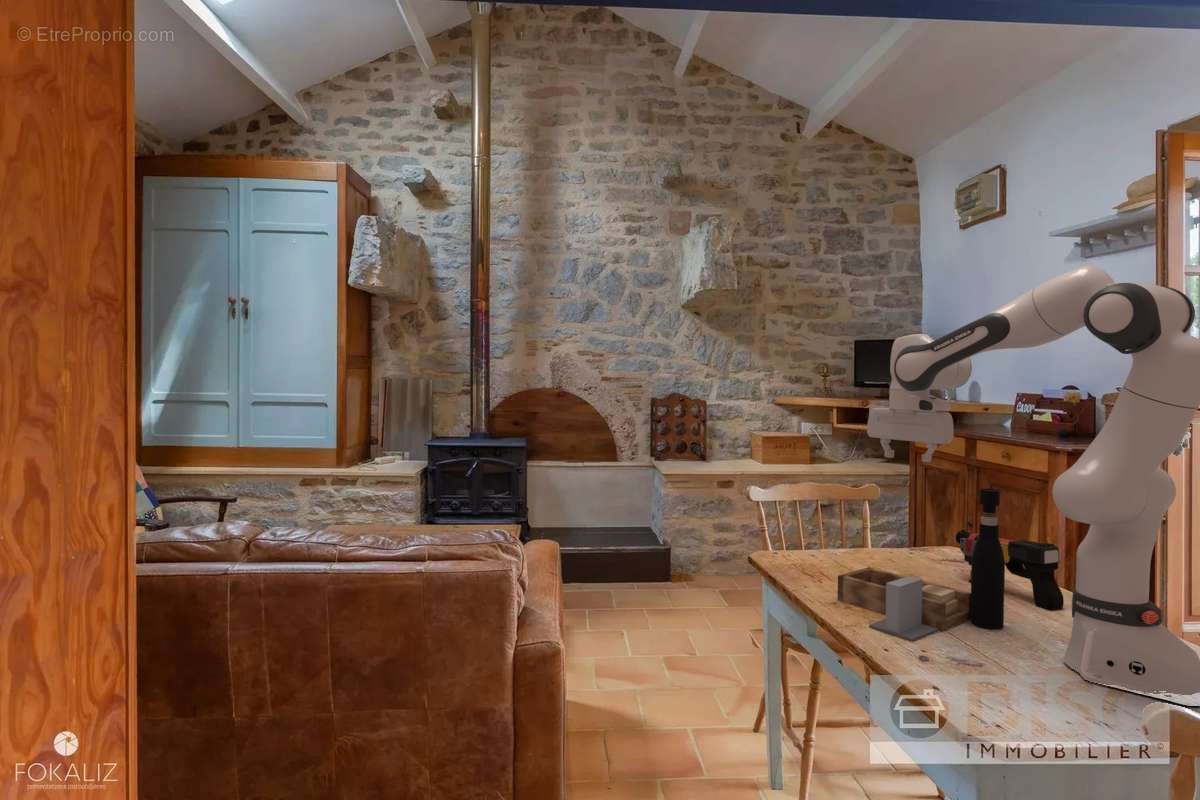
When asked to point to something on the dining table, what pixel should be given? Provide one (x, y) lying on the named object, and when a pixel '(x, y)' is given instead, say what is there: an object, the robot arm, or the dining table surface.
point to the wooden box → (871, 594)
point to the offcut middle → (951, 607)
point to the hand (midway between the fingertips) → (907, 459)
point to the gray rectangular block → (903, 604)
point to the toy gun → (1025, 565)
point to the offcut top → (938, 593)
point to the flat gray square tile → (909, 634)
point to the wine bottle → (988, 568)
